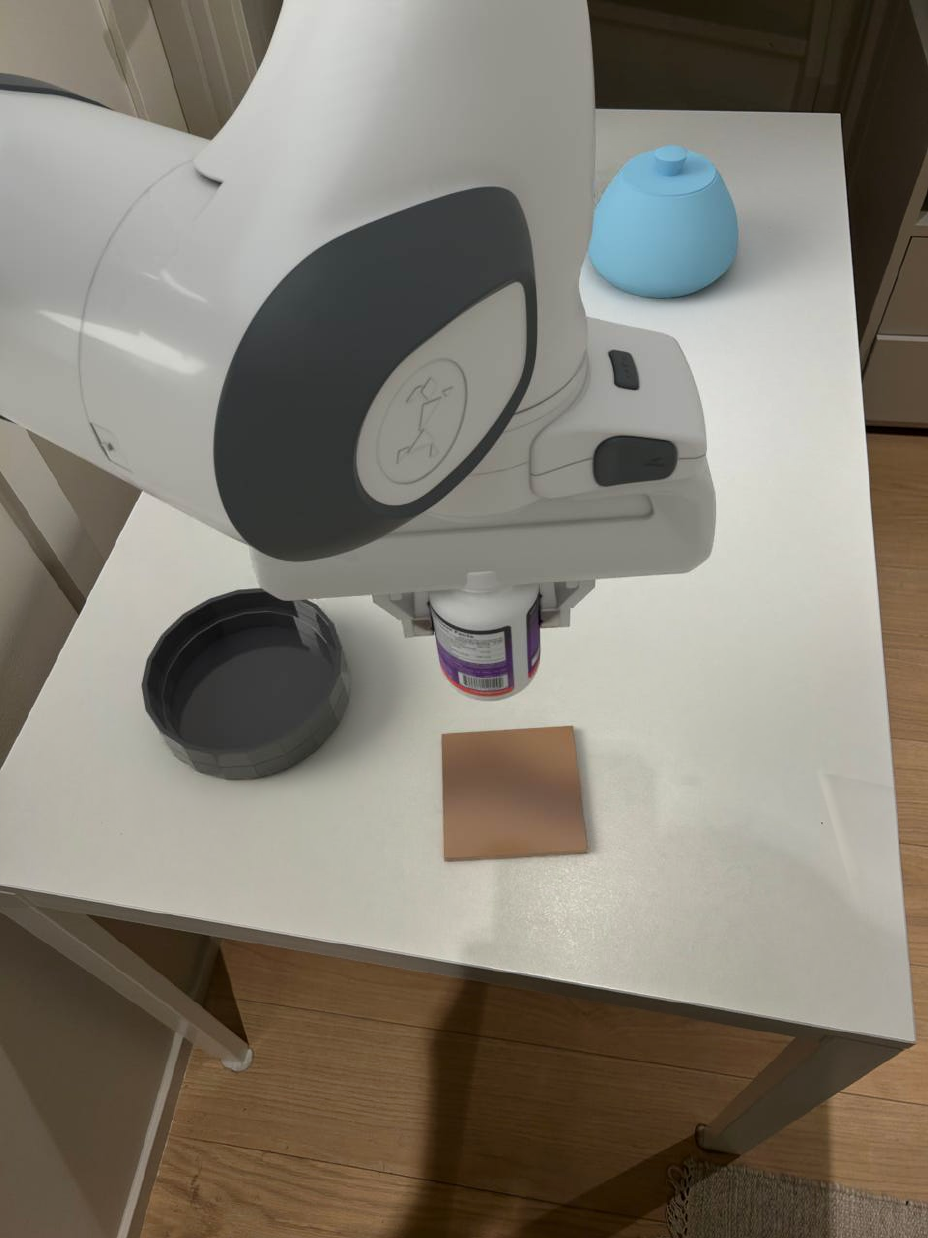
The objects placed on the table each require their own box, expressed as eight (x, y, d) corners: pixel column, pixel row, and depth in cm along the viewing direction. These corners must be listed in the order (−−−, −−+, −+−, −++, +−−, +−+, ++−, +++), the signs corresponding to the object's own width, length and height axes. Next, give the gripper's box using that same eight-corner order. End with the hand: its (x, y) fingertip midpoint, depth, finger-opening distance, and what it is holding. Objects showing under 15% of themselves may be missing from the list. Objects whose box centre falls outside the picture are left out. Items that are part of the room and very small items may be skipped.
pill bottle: (494, 605, 52) (485, 479, 44) (561, 663, 49) (564, 540, 41) (419, 659, 50) (395, 538, 42) (484, 723, 47) (472, 606, 40)
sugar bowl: (723, 220, 100) (741, 108, 91) (743, 303, 91) (766, 188, 82) (583, 226, 101) (587, 117, 92) (589, 309, 92) (595, 196, 83)
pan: (345, 774, 63) (335, 747, 60) (144, 786, 63) (125, 760, 60) (353, 612, 71) (345, 581, 68) (176, 624, 72) (160, 594, 69)
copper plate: (587, 853, 58) (587, 850, 58) (444, 861, 59) (443, 858, 58) (572, 729, 64) (572, 725, 63) (442, 737, 64) (441, 733, 64)
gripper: (190, 483, 34) (276, 688, 45) (752, 442, 33) (700, 660, 44) (213, 374, 38) (287, 587, 49) (717, 334, 37) (677, 560, 48)
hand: (487, 621), depth 47 cm, fingers closed on pill bottle, 5 cm apart
